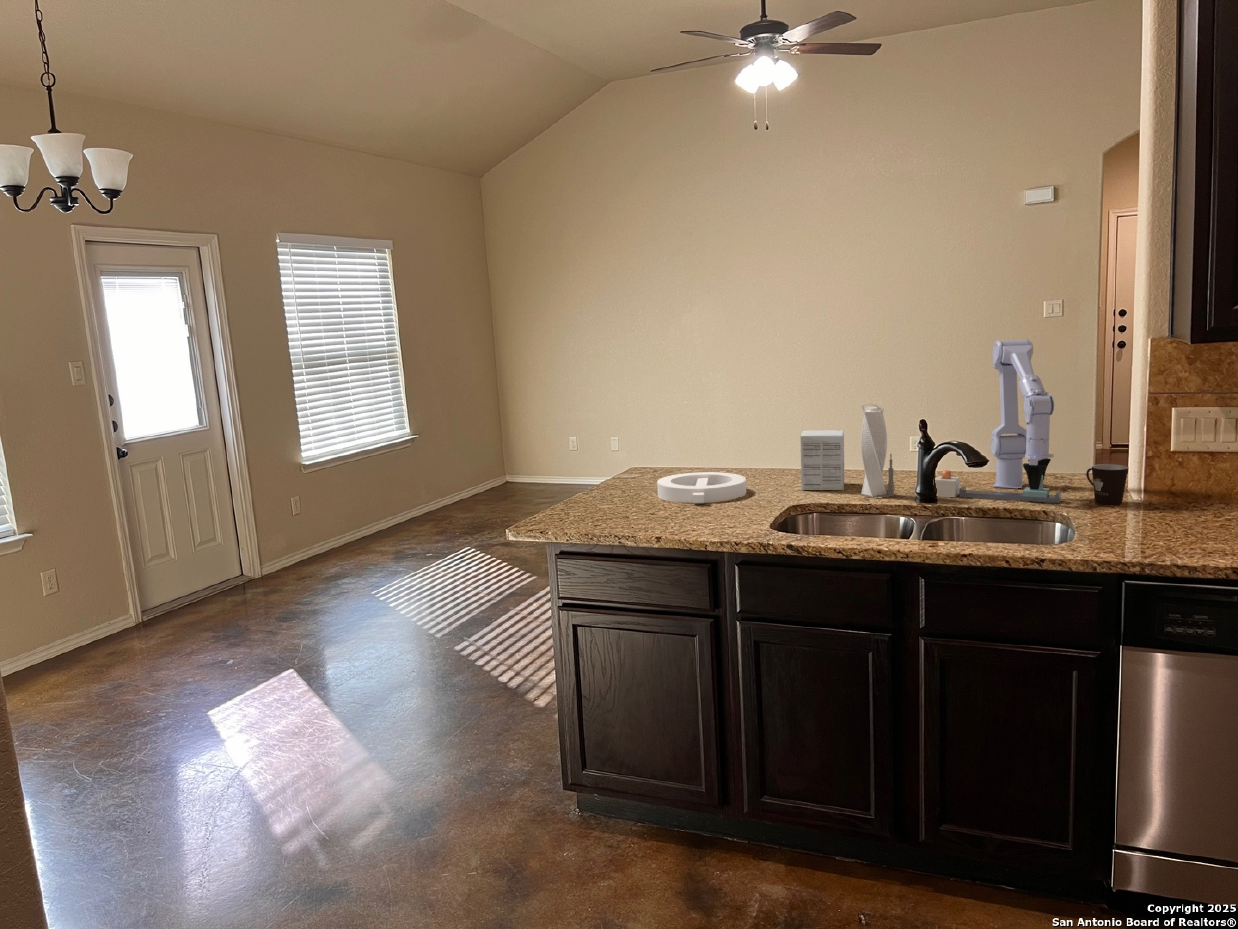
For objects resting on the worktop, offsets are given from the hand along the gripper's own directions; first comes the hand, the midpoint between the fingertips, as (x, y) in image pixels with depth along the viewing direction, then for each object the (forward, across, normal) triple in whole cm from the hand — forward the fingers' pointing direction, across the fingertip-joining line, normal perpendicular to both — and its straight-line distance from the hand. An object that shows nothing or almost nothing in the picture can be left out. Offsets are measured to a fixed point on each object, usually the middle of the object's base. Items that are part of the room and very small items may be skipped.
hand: (1036, 486), depth 243 cm
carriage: (+2, 0, 0) cm, 2 cm away
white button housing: (+4, 0, +24) cm, 24 cm away
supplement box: (+4, +1, +62) cm, 62 cm away
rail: (+4, 0, +7) cm, 8 cm away
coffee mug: (+4, +4, -17) cm, 18 cm away
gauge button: (-1, 0, +24) cm, 24 cm away
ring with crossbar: (+5, -21, +94) cm, 96 cm away
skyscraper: (+4, -7, +43) cm, 44 cm away
